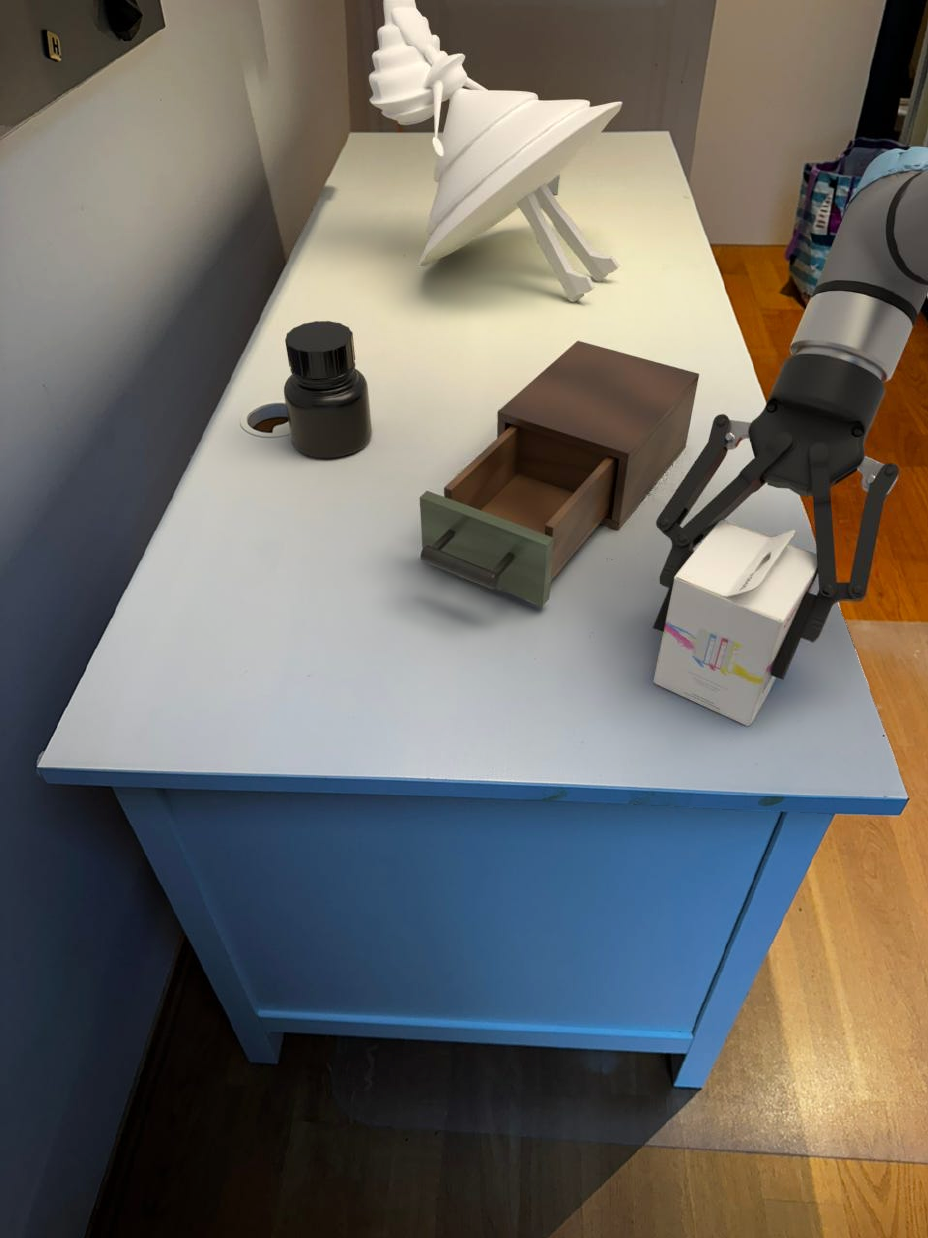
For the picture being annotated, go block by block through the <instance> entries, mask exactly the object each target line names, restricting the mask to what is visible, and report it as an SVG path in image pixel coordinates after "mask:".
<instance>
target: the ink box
mask: <svg viewBox="0 0 928 1238" xmlns="http://www.w3.org/2000/svg"><path fill="white" fill-rule="evenodd" d="M795 534H796V530H795V529H792V530H788V531H785V532H783V533H780V534H777V535H775V536H772V537H770V536H768V535H765V534H762V533H760V532H757V531H755V530H753V529H752V530H751V529H749V528H746V527H743V526H741V525H738V524H736V523H733V522H729V521H727V520H726V519H724V520H721V521H719V522H718V523H717V524H716V525H715V527H714V528H713V529H712V530H711V531H710V533H709V534H708V535H707V536H706V537H705V538H704V539H703V540H702V541H701V542H700V543H699V544H698V545H697V547H696V549H695V550H694V551H693V552H694V553H693V554H692V555H691V556H690V558H689V559H688V560H687V561H686V563H685V564H684V565H683V566H682V568H681V569H680V570H679V571H678V573H677V574H676V575H675V577H674V583H673V588H672V593H671V598H670V603H669V608H668V613H667V618H666V623H665V628H664V632H662V637H661V638H662V639H661V642H660V648H659V652H658V657H657V661H656V665H655V671H654V676H653V681H652V682H653V683H654V684H655V685H657V686H659V687H661V688H663V689H666V690H668V691H669V692H672V693H674V694H677V695H678V696H681V697H683V698H685V699H687V700H690V701H692V702H694V703H696V704H698V705H700V706H702V707H705V708H707V709H709V710H711V711H714V712H715V713H718V714H720V715H722V716H723V717H727V718H729V719H731V720H733V721H736V722H738V723H740V724H742V725H744V726H746V727H749V726H751V725H752V723H753V722H754V720H755V718H756V716H757V715H758V713H759V711H760V710H761V708H762V707H763V704H764V702H765V701H766V699H767V697H768V695H769V693H770V691H771V690H772V688H773V686H774V684H775V682H776V681H777V679H778V678H776V677H774V676H772V675H771V673H772V671H773V669H774V666H775V664H776V661H777V659H778V657H779V654H780V652H781V650H782V647H783V645H784V643H785V640H786V638H787V636H788V633H789V631H790V629H791V626H792V624H793V622H794V619H795V617H796V614H797V612H798V610H799V607H800V605H801V603H802V600H803V598H804V596H805V593H806V592H808V593H811V594H812V592H813V589H814V586H815V583H816V580H817V578H818V565H817V553H816V552H812V551H809V550H806V549H804V548H801V547H798V546H795V545H792V544H790V541H791V540H792V539H793V537H794V535H795Z"/></svg>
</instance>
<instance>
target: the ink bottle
mask: <svg viewBox="0 0 928 1238" xmlns="http://www.w3.org/2000/svg"><path fill="white" fill-rule="evenodd" d="M353 335H354V333H353V331H352V330H351V329H350V327H349V326H347V325H344V324H343V323H341V322H335V321H330V320H321V321H320V320H316V321H310V322H305V323H302V324H300V325H298V326H295V327H293V328H292V329H291V330H289V332H287V333H286V336H285V340H284V341H285V349H286V354H287V361H288V367H289V368H290V369H289V370H290V374H291V375H289V377H288V378H287V379H286V381H285V383H284V386H283V398H284V402H285V408H286V409H285V410H286V414H287V420H288V427H289V432H290V439H291V441H292V443H293V445H294V446H295V448H296V449H297V450H299V451H300V452H301V453H303V454H304V455H306V456H309V457H313V458H322V459H328V458H329V459H330V458H339V457H344V456H347V455H351V454H354V453H356V452H358V451H360V450H362V449H363V448H364V447H366V446H367V445H368V444H369V442H370V441H371V439H372V434H373V429H372V427H373V426H372V417H371V407H370V395H369V387H368V382H367V379H366V377H365V375H363V373H362V371H360V370H358V369H356V354H355V352H356V351H355V344H354V336H353Z"/></svg>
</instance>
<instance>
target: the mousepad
mask: <svg viewBox="0 0 928 1238" xmlns="http://www.w3.org/2000/svg"><path fill="white" fill-rule="evenodd" d="M559 182H560V174H558V175H557V176H556V177H555V178H554V179H553V180H552V181H551V182H550V183H548V184H547V186H548V187H549V189H550V190H551V192H552V194H553V195H558V193H559V184H560V183H559Z"/></svg>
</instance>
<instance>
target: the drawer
mask: <svg viewBox="0 0 928 1238" xmlns="http://www.w3.org/2000/svg"><path fill="white" fill-rule="evenodd" d="M618 464H619V459H618V458H615V457H612V456H608V455H605V454H602V453H599V452H596V451H593V450H590V449H587V448H584V447H581V446H578V445H574V444H571V443H568V442H565V441H562V440H559V439H556V438H553V437H550V436H547V435H544V434H541V433H537V432H534V431H531V430H528V429H525V428H522V427H519V426H516V425H513V424H512V425H511V426H510V427H509V428H508V429H507V430H506V431H505V432H504V433H503V434H501V435H500V436H499V437H498V438H497V437H496V439H494V441H492V443H490V444H489V445H488V446H487V447H486V448H485V449H484V450H483V451H482V452H481V453H479V454H478V455H477V456H476V457H475V458H474V459H473V460H472V461H470V463H469V464H468V465H467V466H465V467H464V468H463V469H462V470H461V471H460V472H458V474H457V475H456V476H455V477H453V478H452V479H451V480H450V481H449V482H448V483H447V484H446V485H445V486H444V487H443V495H440V494H437V493H435V492H433V491H430V490H426V491H425V492H424V493H423V494H421V495H420V496H419V512H420V513H419V514H420V527H421V528H420V530H421V546H422V548H421V552H420V556H419V557H420V561H422V562H424V563H426V564H429V565H432V566H434V567H437V568H438V569H442V570H444V571H446V572H449V573H451V574H453V575H456V576H457V577H461V578H463V579H466V580H467V581H470V582H473V583H475V584H478V585H480V586H482V587H484V588H487V589H489V590H493V589H498V590H500V591H503V592H505V593H508V594H511V595H513V596H516V597H518V598H520V599H523V600H524V601H525V600H526V601H528V602H530V603H533V604H535V605H538V606H540V607H544V606H545V605H546V603H547V602H548V601H549V599H550V594H551V593H550V592H551V582H552V581H553V580H554V579H555V577H556V576H557V575H558V574H559V573H560V572H561V570H562V569H563V568H564V566H565V565H566V564H567V563H568V562H569V561H570V559H571V558H572V557H573V556H574V555H575V554H576V552H577V551H578V550H579V549H580V547H582V545H583V544H584V543H585V542H586V541H587V539H588V538H589V537H590V536H591V534H593V532H594V531H595V530H596V529H597V528H598V526H599V525H601V524H600V522H601V521H602V520H603V519H604V518H605V517H606V515H607V514H608V513H609V512H610V511H611V509H612V508H613V503H614V495H615V488H616V480H617V472H618Z"/></svg>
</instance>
